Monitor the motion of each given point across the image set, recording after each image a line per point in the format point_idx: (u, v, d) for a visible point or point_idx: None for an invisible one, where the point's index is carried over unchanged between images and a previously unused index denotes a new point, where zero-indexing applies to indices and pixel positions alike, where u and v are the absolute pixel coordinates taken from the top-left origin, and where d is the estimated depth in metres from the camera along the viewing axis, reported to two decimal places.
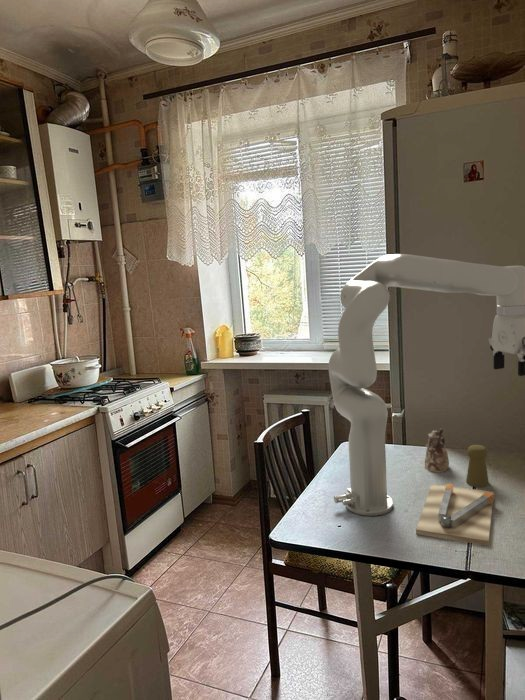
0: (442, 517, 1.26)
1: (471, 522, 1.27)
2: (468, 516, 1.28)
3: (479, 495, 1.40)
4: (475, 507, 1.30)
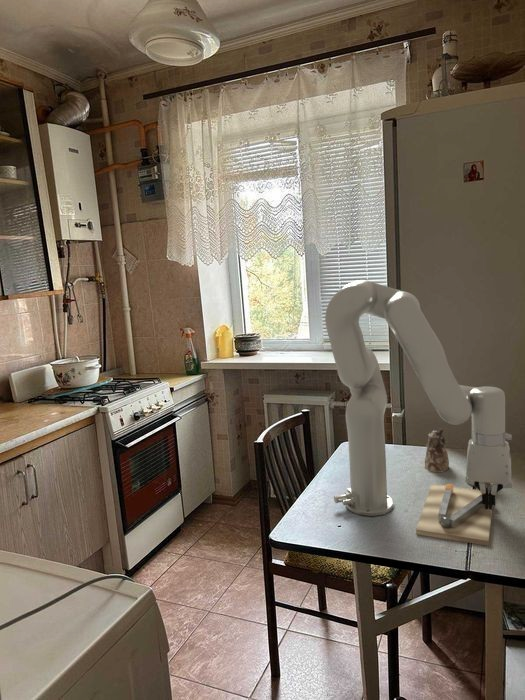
0: (442, 517, 1.26)
1: (471, 522, 1.27)
2: (467, 516, 1.28)
3: (479, 495, 1.40)
4: (474, 506, 1.30)
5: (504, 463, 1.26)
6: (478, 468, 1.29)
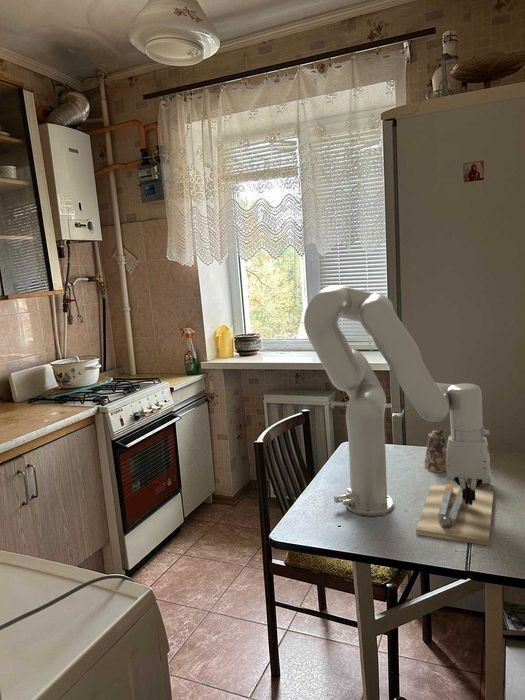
0: (442, 518, 1.25)
1: (471, 522, 1.27)
2: (459, 512, 1.30)
3: (479, 495, 1.40)
4: (461, 502, 1.33)
5: (482, 459, 1.28)
6: (457, 464, 1.31)
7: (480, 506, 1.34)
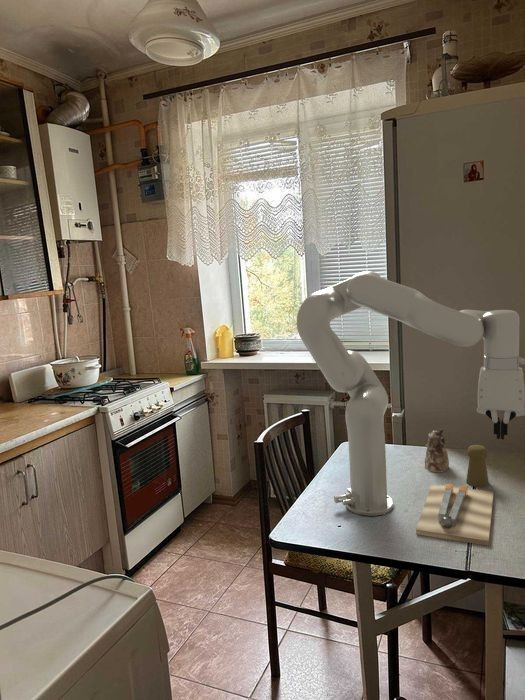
0: (442, 518, 1.25)
1: (471, 522, 1.27)
2: (459, 512, 1.30)
3: (479, 495, 1.40)
4: (461, 502, 1.33)
5: (517, 389, 1.21)
6: (490, 395, 1.23)
7: (480, 506, 1.34)
